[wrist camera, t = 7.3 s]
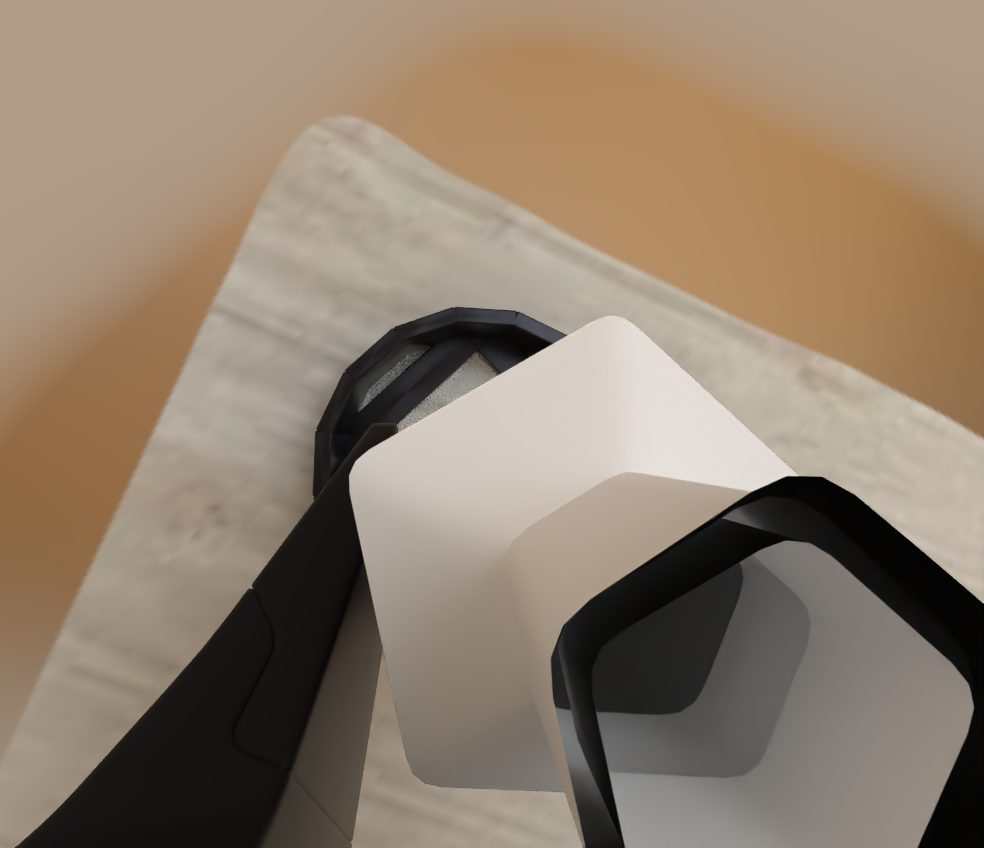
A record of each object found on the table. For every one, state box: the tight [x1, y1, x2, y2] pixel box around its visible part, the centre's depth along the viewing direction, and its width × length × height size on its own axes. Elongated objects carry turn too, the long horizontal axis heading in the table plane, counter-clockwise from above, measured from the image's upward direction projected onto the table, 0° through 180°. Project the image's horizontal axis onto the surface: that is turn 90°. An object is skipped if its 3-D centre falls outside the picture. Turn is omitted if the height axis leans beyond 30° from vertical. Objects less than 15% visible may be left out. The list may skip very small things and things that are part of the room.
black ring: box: [313, 307, 567, 501], centre depth 20 cm, size 12×12×3 cm
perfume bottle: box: [349, 316, 984, 848], centre depth 9 cm, size 5×4×15 cm
